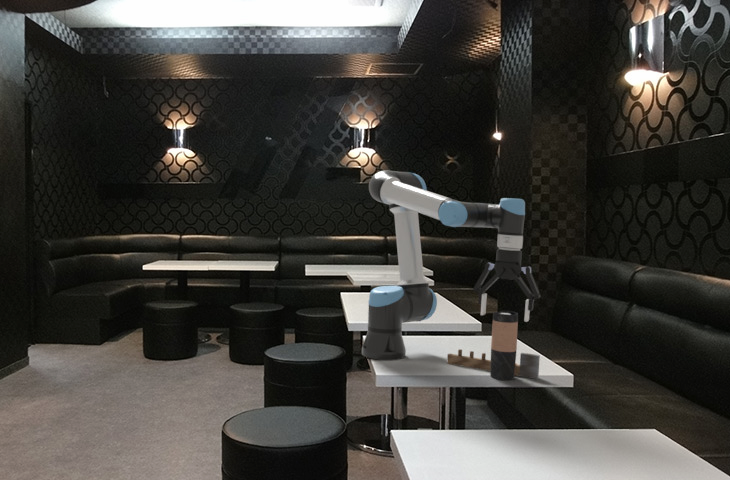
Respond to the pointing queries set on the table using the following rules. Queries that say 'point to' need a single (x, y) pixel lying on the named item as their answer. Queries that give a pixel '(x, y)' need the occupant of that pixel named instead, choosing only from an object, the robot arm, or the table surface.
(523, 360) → the comb rail
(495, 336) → the travel mug
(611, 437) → the table surface
